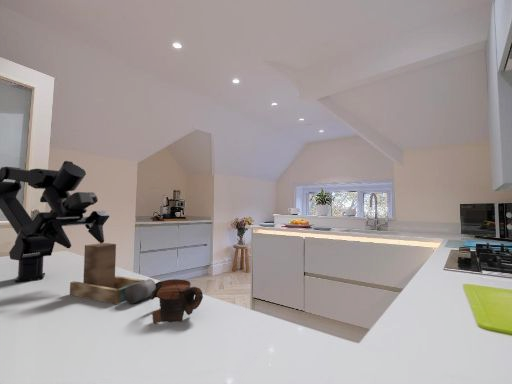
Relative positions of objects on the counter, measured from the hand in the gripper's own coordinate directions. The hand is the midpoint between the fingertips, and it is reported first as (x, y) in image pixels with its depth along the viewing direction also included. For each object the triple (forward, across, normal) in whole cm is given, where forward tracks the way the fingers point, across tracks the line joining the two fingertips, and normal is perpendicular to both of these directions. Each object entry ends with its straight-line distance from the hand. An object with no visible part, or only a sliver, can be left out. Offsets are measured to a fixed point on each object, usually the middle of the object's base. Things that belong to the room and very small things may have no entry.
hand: (87, 244), depth 73 cm
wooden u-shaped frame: (+16, 0, +1) cm, 16 cm away
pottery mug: (+31, -4, -14) cm, 35 cm away
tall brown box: (+12, 0, +5) cm, 13 cm away
